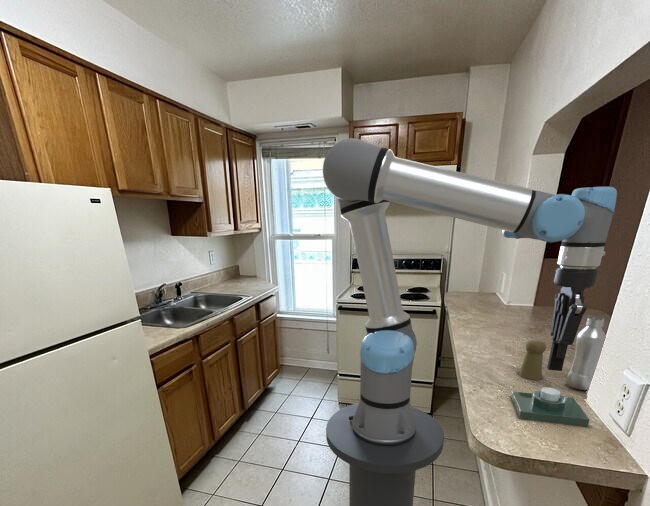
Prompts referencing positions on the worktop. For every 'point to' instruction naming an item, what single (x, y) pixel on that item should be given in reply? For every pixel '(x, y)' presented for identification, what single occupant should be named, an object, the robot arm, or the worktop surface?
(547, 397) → the white push button
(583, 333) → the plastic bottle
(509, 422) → the worktop surface
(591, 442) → the worktop surface
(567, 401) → the green button base
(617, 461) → the worktop surface
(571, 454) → the worktop surface
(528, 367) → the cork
